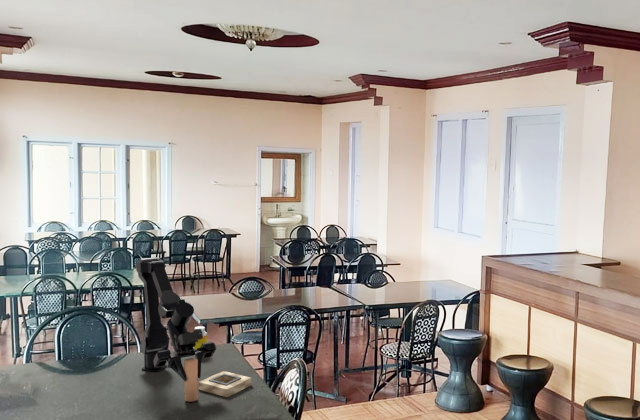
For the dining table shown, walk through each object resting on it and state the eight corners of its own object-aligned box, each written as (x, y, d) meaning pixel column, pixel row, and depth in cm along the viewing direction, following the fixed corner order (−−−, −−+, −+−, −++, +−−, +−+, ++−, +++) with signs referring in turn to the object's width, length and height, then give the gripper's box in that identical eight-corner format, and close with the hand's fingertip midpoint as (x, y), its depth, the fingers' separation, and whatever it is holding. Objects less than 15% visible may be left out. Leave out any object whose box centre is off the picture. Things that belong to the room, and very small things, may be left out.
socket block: (198, 389, 185) (198, 381, 185) (223, 378, 195) (223, 370, 195) (227, 397, 179) (227, 388, 179) (251, 385, 189) (251, 376, 189)
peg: (182, 400, 175) (181, 361, 174) (189, 395, 178) (189, 357, 178) (193, 402, 173) (192, 363, 172) (200, 397, 177) (200, 359, 176)
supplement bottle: (209, 354, 221) (209, 327, 220) (196, 357, 217) (196, 330, 217) (202, 350, 225) (202, 324, 224) (189, 353, 222) (189, 327, 221)
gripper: (155, 325, 172) (169, 372, 164) (213, 316, 183) (229, 360, 174) (148, 344, 179) (160, 390, 171) (204, 335, 190) (218, 377, 181)
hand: (192, 379), depth 174 cm, fingers closed on peg, 4 cm apart
